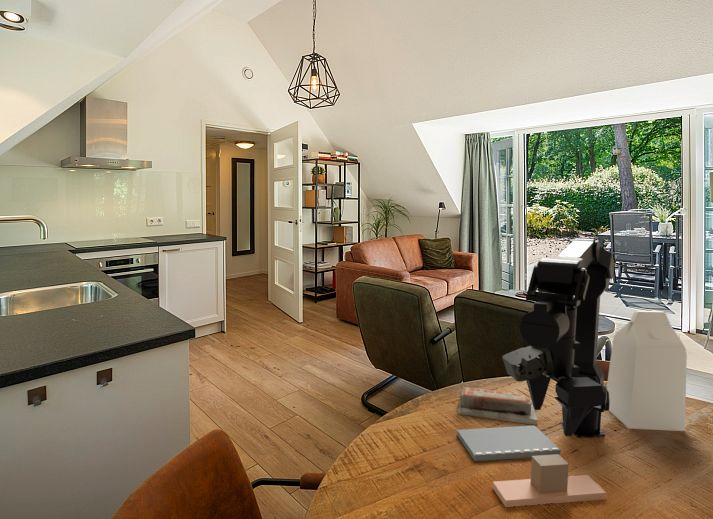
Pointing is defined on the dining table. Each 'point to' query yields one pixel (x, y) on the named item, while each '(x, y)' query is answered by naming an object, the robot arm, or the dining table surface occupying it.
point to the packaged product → (496, 405)
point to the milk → (648, 374)
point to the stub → (548, 485)
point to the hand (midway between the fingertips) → (551, 421)
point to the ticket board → (506, 443)
